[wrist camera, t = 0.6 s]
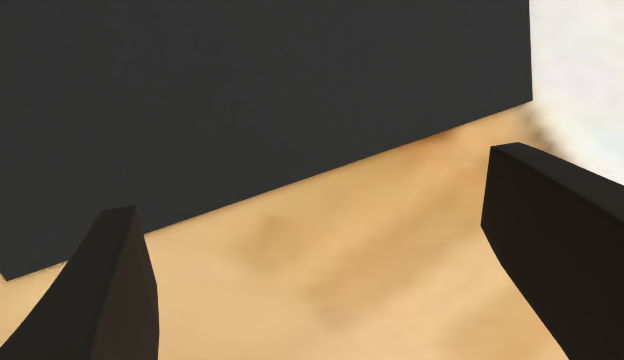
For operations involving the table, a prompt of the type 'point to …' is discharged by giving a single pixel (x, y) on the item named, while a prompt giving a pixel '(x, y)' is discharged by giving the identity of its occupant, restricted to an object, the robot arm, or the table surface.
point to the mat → (225, 100)
